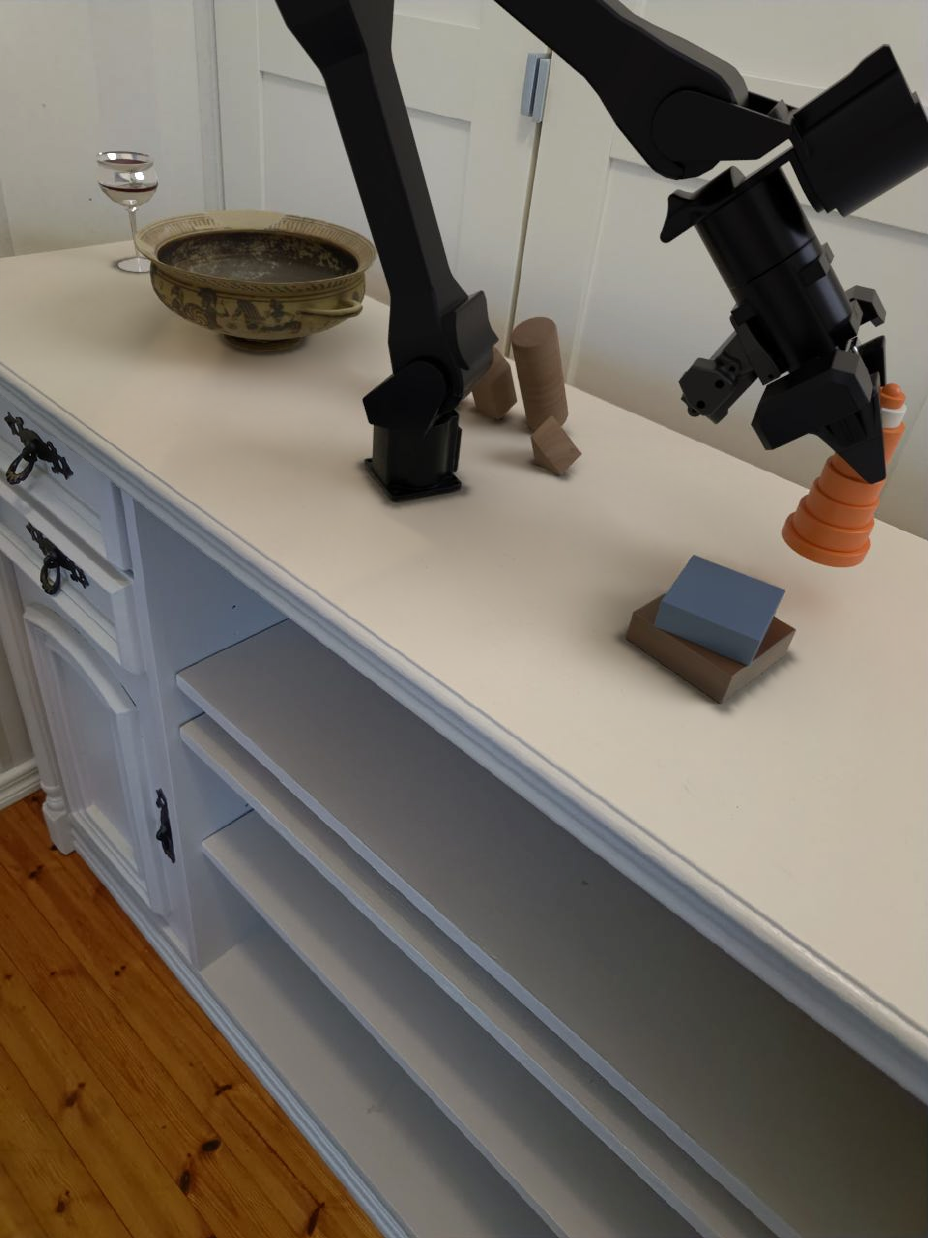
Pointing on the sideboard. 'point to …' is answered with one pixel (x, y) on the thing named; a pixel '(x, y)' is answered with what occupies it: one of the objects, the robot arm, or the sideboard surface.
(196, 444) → the sideboard surface
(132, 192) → the wineglass
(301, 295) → the ceramic bowl
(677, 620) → the top block
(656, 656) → the base block
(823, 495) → the cone
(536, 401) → the wooden block set
